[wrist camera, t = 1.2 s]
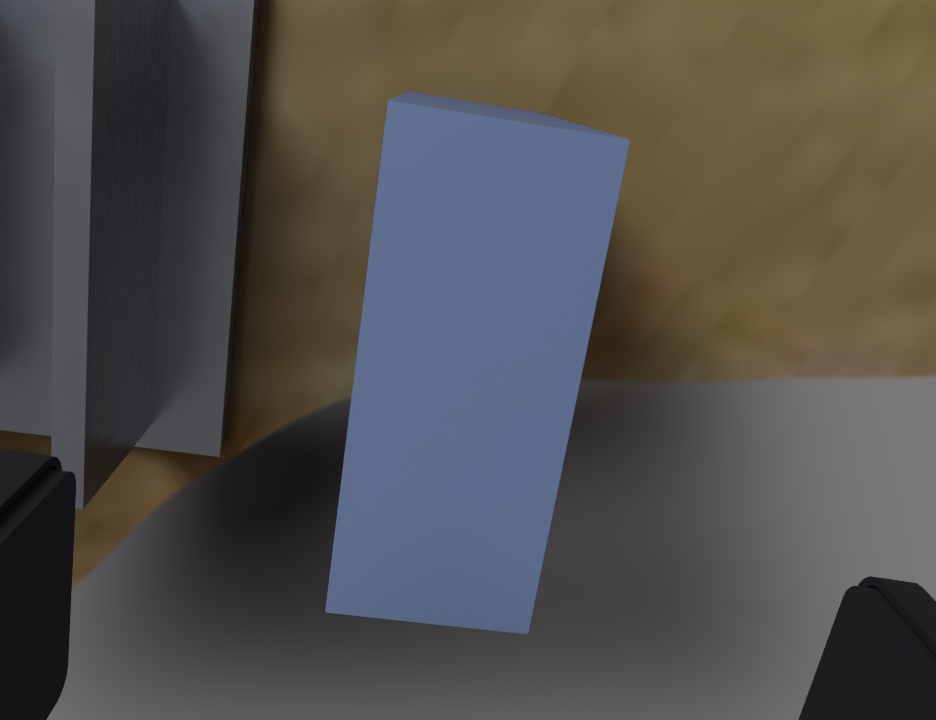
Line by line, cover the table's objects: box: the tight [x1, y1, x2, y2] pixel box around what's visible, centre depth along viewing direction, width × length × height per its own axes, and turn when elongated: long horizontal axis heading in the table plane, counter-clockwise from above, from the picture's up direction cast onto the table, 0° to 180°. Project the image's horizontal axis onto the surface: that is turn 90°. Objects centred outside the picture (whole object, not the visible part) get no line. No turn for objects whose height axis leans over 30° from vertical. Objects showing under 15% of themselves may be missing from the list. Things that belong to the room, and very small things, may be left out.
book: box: [325, 91, 630, 634], centre depth 26 cm, size 5×12×15 cm, turn 171°
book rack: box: [0, 0, 260, 509], centre depth 28 cm, size 14×18×8 cm
